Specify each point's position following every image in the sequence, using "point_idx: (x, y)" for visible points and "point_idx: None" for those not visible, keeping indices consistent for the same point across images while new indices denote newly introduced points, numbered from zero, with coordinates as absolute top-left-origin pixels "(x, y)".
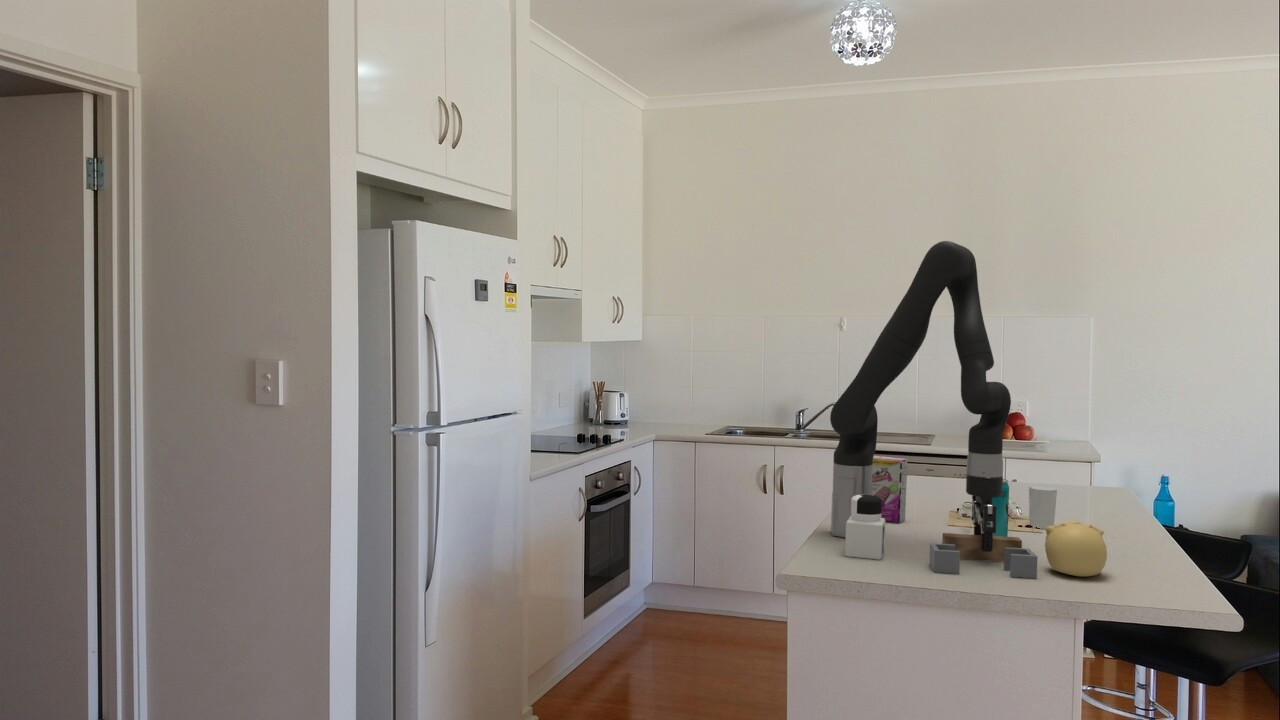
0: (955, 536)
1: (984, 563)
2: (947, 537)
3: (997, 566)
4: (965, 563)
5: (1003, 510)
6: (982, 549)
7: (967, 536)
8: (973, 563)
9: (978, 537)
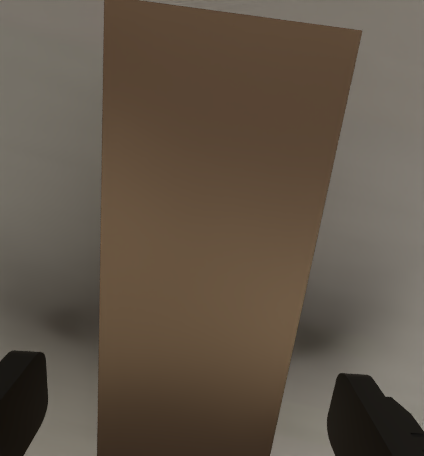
0: (136, 176)
1: (59, 312)
2: (108, 50)
3: None
4: (19, 192)
5: None
6: (10, 359)
7: (168, 328)
8: (37, 246)
9: (139, 425)
